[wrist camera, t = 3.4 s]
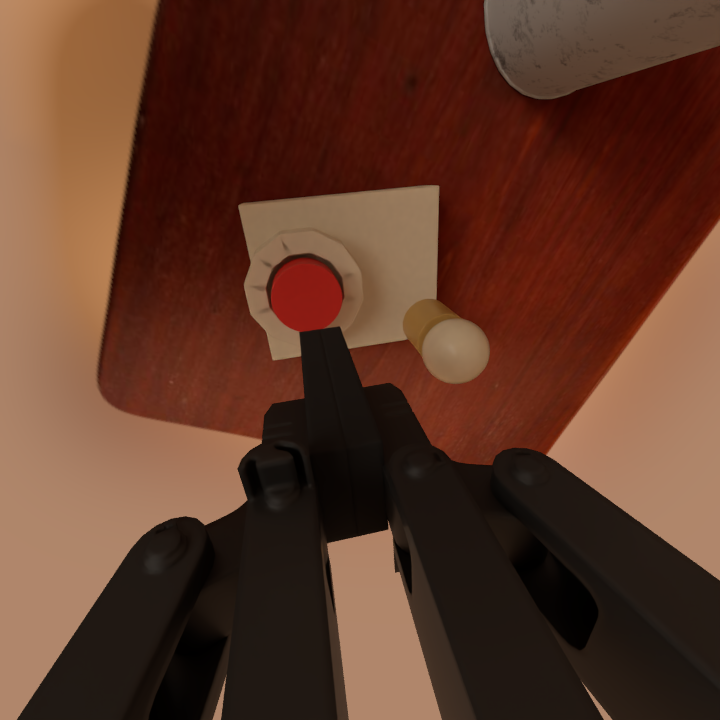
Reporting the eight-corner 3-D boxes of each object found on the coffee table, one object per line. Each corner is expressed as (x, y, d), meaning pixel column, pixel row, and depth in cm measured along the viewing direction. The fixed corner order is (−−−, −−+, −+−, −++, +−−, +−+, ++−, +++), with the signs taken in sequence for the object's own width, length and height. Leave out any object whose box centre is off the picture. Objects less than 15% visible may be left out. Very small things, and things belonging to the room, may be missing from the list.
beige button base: (234, 203, 22) (224, 208, 18) (426, 185, 23) (452, 185, 20) (267, 348, 26) (264, 374, 23) (425, 324, 28) (445, 345, 24)
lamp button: (265, 262, 20) (264, 268, 18) (334, 253, 21) (338, 259, 19) (278, 326, 22) (278, 337, 20) (341, 317, 22) (345, 327, 21)
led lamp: (398, 299, 22) (437, 339, 17) (452, 291, 23) (507, 328, 17) (400, 350, 24) (435, 401, 18) (450, 342, 24) (499, 390, 19)
